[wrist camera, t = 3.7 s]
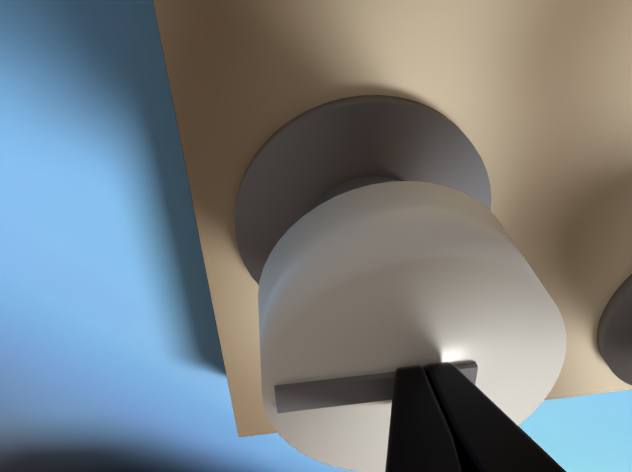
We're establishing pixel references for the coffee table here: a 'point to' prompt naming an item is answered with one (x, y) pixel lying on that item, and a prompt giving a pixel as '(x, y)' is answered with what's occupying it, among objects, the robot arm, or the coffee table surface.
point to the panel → (412, 144)
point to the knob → (396, 314)
